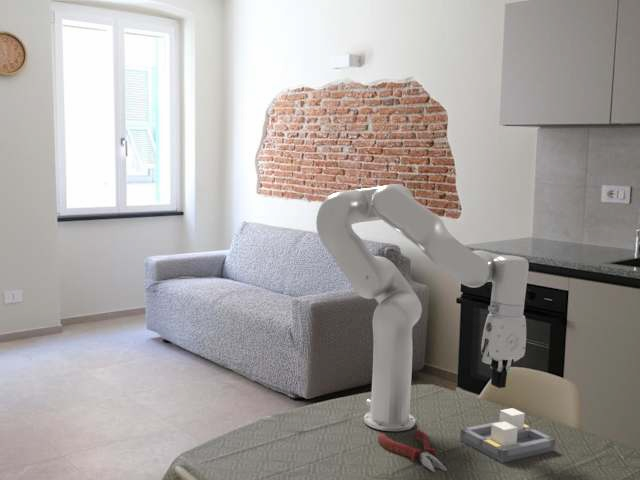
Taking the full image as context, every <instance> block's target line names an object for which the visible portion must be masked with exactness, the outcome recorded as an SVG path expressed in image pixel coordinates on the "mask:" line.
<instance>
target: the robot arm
mask: <svg viewBox="0 0 640 480" xmlns="http://www.w3.org/2000/svg"><path fill="white" fill-rule="evenodd" d="M380 220H382V221H383V222H384V223H386V224H387V225H389V227H391V228H393V229H394V230H395V231H397V233H398V234H401V235H402V236H404V237H405V238H406V239H408V240H409V241H410V242H411V243H413V244H414V245H415V246H417V247H418V249H420V251H421V252H422V253H423V254H424V255H425V256H427V257H428V258H429V259H430V261H432V263H434V264H435V265H436V266H437V267H438V268H440V269H441V271H444V273H446V274H447V275H448V276H450V277H451V278H453V279H454V280H456V281H457V282H459V283H460V284H461V285H463V286H466V287H468V288H472V289H473V288H475V289H476V288H480V287H482V286H484V285H485V284H486V283H489V282H490V283H492V287H491V295H490V305H488V307H487V309H488V312H489V313H488V314H487V317H486V320H485V323H484V326H483V327H484V328H483V332H482V337H481V345H480V348H481V349H480V353H481V355H482V358H481V362H482V363H484V364H487V365H489V366H490V369H491V370H492V371H491V378H490V384H491V386H494V387H495V388H498V389H504V388H506V385H507V378H508V377H507V375H508V371H510V370H511V366H512V365H513V363H515V362H517V361H520V359H521V358H523V357H524V356H525V353H526V345H527V343H526V342H527V322H526V321H527V320H526V316H525V315H524V311H525V310H524V309H525V302H526V301H525V300H526V295H527V294H526V292H527V284H528V283H527V282H528V275H529V265H530V264H529V261H528V260H527V259H526V258H525V257H521V256H517V255H511V254H510V255H509V254H507V255H506V254H505V255H504V254H503V255H501V254H497V253H493V252H490V251H485V250H481V249H479V250H478V249H477V250H471V249H470V248H468V247H467V246H466V245H464V244H463V243H462V242H460V241H459V240H457V238H455V237H454V236H453V235H452V233H450V232H449V230H448V229H447V228H446V225H445V223H444V222H443V220H442V219H441V218H440V216H438V215H437V214H435V213H434V212H433V211H431V210H430V209H429V208H427V207H425V206H424V205H423V204H422V203H420V202H418V201H417V200H416V199H415V198H414V197H413V194H412V192H411V191H410V190H409V189H408V188H407V186H404V185H402V184H398V183H391V184H385V185H382V186H375V187H367V188H360V189H351V190H350V189H349V190H342V191H336V192H334V193H332V194H330V195H328V196H327V197H326V198H325V199H324V200H323V202H322V203H321V204H320V207H319V208H318V211H317V215H316V231H317V234H318V237H319V239H320V241H321V243H322V245H323V246H324V249H326V250H327V252H328V253H329V255H330V256H331V257H332V259H333V260H334V262H335V263H336V264H337V266H338V268H339V270H340V271H341V273H342V274H343V275H344V277H345V278H346V280H347V281H348V283H349V284H350V286H351V287H352V288H353V290H354V291H355V293H356V294H357V295H358V296H360V297H361V298H364V299H366V300H370V299H371V300H372V299H375V300H376V302H377V303H378V304H377V305H376V308H375V309H374V312H373V315H372V333H373V334H372V335H373V337H372V339H373V345H372V346H373V347H372V348H373V349H372V350H373V351H372V352H373V353H372V375H371V376H372V378H371V381H372V382H371V397H370V399H369V398H368V399H366V400H365V404H366V405H367V406H369V411H367V412H366V413H365V414H364V417H363V421H364V423H365V424H366V425H367V426H369V427H370V428H373V429H375V430H379V431H384V432H403V431H408V430H410V429H413V428H414V427H415V425H416V418H415V417H414V416H413V415H412V414H410V410H411V408H410V407H411V394H412V393H411V390H412V374H413V373H412V371H413V370H412V369H413V327H414V326H415V325H416V324H417V323H418V322H419V320H420V318H421V316H422V313H423V307H422V303H421V301H420V298H419V296H417V294H416V292H415V291H414V289H413V288H412V287H411V285H410V284H409V282H408V281H407V280H406V278H405V277H404V276H403V274H402V273H401V271H400V270H399V268H397V266H396V265H395V264H394V263H393V261H391V260H390V259H388V258H387V257H384V256H379V255H375V256H374V255H373V252H371V251H370V249H369V248H368V247H367V245H366V244H365V242H364V241H363V239H362V238H361V237H360V236H359V235H358V234H357V233H356V232H355V231H354V229H353V227H352V225H354V224H358V223H364V222H374V221H380Z"/></svg>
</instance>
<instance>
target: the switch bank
mask: <svg viewBox="0 0 640 480" xmlns="http://www.w3.org/2000/svg"><path fill="white" fill-rule="evenodd" d="M494 423H499V420H498V421H495V422H490V423H484V424H478V425H474V426H469V427H463V428H460V435H459V436H460V438H459V440H460V441H462V442H463V443H465V444H466V445H469V446H471V447H472V448H474V449H476V450H478V451H480V452H482V454H483V453H484V454H485V455H487V456H489V457H490V458H492V457H493V459H494V460H496V461H498V462H500V463H508V462H512V461H516V460H520V459H525V458H528V457H532V456H537V455H541V454H546V453H549V452H554V451H555V447H556V439H555V438H554V437H552V436H550V435H547V434H545V433H543V432H541V431H539V430H536V429H535V428H532V427H530V426H529V425H528V424H525V423H524V429H523V430H519V431H517V443H516V445H512V446H507V447H502V446H501V445H499V444H497V443H496V442H494V441H492V440H491V428H492V424H494Z"/></svg>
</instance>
